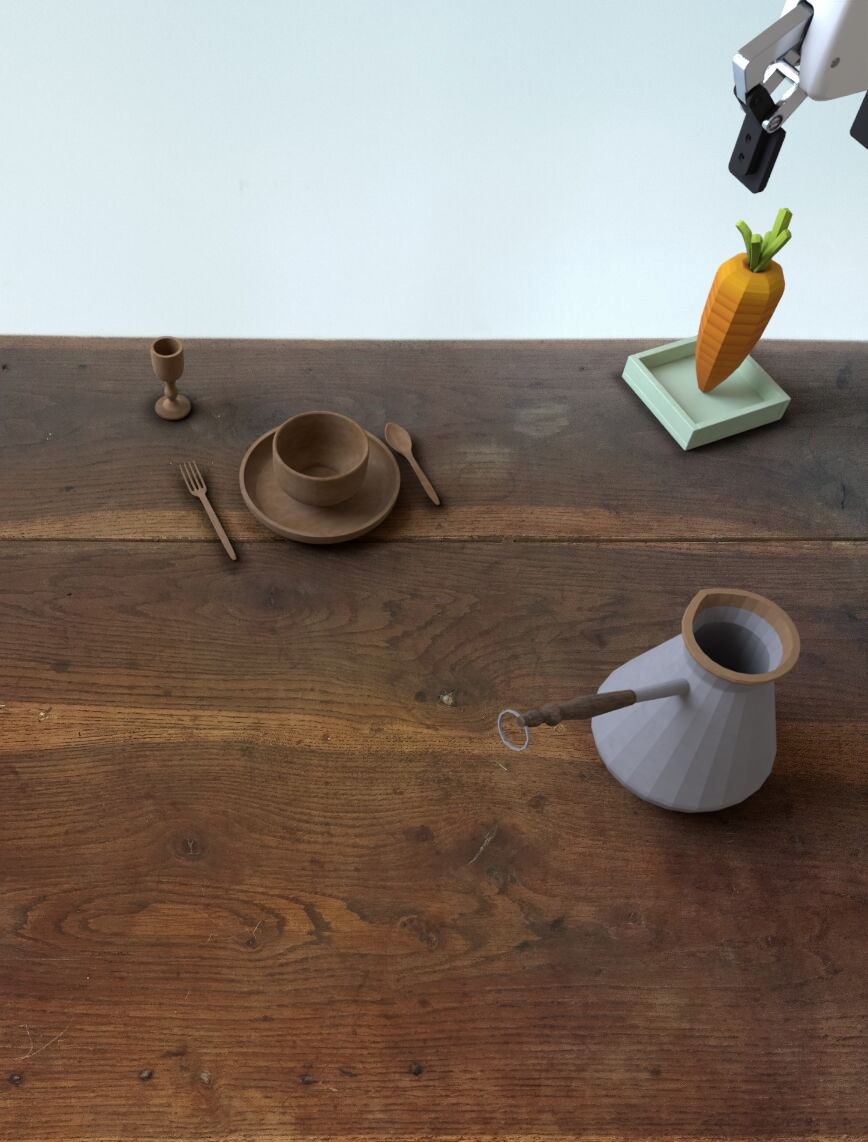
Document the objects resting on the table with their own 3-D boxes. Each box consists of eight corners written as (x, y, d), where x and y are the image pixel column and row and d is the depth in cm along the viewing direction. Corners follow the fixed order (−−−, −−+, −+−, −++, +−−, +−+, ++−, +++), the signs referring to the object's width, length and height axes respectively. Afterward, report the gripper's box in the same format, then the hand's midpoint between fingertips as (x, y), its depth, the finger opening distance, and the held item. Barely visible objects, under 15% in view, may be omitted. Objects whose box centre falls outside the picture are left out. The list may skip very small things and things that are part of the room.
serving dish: (714, 347, 90) (723, 326, 88) (780, 419, 86) (791, 398, 84) (621, 376, 88) (628, 355, 86) (684, 451, 84) (693, 430, 82)
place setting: (237, 585, 76) (234, 528, 71) (143, 403, 85) (135, 341, 80) (456, 514, 80) (468, 455, 75) (343, 347, 89) (347, 284, 84)
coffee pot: (684, 655, 74) (770, 501, 61) (795, 785, 69) (914, 648, 56) (418, 778, 68) (449, 638, 55) (517, 930, 63) (577, 814, 50)
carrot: (689, 418, 85) (762, 244, 72) (661, 376, 87) (727, 201, 74) (745, 406, 85) (828, 233, 73) (716, 365, 88) (791, 190, 75)
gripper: (849, -96, 52) (729, 229, 67) (1121, -161, 55) (950, 162, 70) (757, -159, 55) (662, 164, 70) (1018, -215, 59) (876, 103, 74)
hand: (806, 163), depth 70 cm, fingers open, 9 cm apart
